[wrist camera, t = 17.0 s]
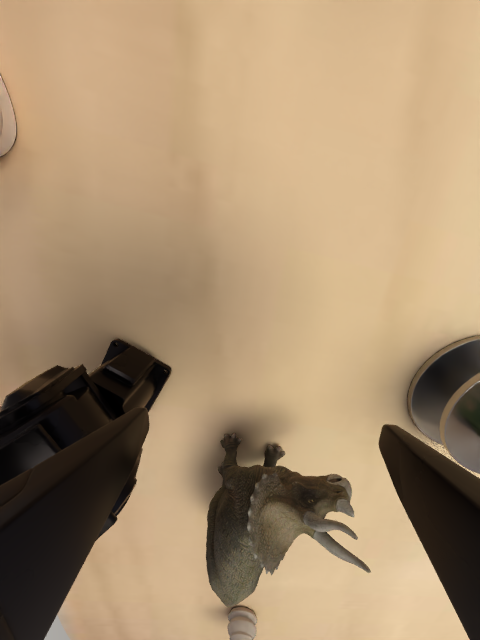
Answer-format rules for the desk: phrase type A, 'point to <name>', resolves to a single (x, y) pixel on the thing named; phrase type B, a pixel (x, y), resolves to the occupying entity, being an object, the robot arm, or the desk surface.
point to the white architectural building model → (6, 121)
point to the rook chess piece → (242, 624)
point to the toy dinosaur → (268, 520)
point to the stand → (450, 400)
